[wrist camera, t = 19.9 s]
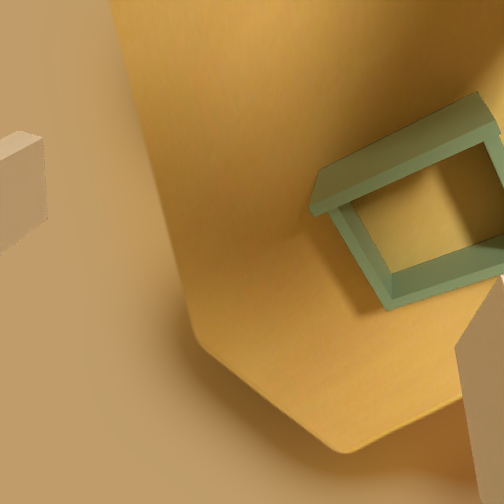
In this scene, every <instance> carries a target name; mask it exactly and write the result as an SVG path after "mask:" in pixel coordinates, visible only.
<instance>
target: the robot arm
mask: <svg viewBox="0 0 504 504" xmlns="http://www.w3.org/2000/svg"><path fill="white" fill-rule="evenodd" d="M44 164H45V163H44V145H43V138H42V137H39V136H36V135H32V134H29V133H25V132H22V131H17V132H14V133H13V134H10V135H8V136H6V137H4V138H2V139H0V256H1V255H2V254H3V253H4V252H6V251H7V250H8V249H10V248H11V247H12V246H13V245H15V244H16V243H17V242H19V240H21V239H22V238H24V237H25V236H26V235H27V234H29V233H30V232H31V231H33V230H34V229H35V228H36V227H37V226H39V225H40V224H41V223H43V222H44V221H45V220H47V219H48V218H47V200H46V181H45V165H44ZM455 353H456V359H457V365H458V371H459V377H460V383H461V389H462V395H463V400H464V407H465V412H466V418H467V424H468V430H469V435H470V442H471V448H472V454H473V459H474V466H475V472H476V477H477V483H478V489H479V495H480V501H481V504H504V275H500V276H499V278H498V279H497V281H496V282H495V284H494V285H493V287H492V289H491V290H490V292H489V293H488V295H487V296H486V298H485V300H484V301H483V303H482V304H481V306H480V307H479V309H478V311H477V312H476V314H475V315H474V317H473V318H472V320H471V322H470V323H469V325H468V326H467V328H466V330H465V331H464V333H463V334H462V336H461V337H460V339H459V341H458V342H457V344H456V345H455Z"/></svg>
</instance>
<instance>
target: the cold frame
mask: <svg viewBox="0 0 504 504" xmlns="http://www.w3.org/2000/svg"><path fill="white" fill-rule="evenodd" d="M499 134H501V132H500V129H499V127H498V125H497V122H496V120H495V118H494V117H493V115H492V114H491V112H490V110H489V109H488V107H487V106H486V104H485V103H484V101H483V100H482V98H481V97H480V95H479V93H478V92H475V93H473V94H471V95H469V96H467V97H465V98H463V99H461V100H459V101H457V102H455V103H453V104H451V105H449V106H447V107H445V108H443V109H441V110H439V111H437V112H435V113H433V114H431V115H429V116H427V117H425V118H423V119H421V120H419V121H417V122H415V123H413V124H411V125H409V126H407V127H405V128H403V129H401V130H399V131H397V132H395V133H393V134H391V135H389V136H387V137H385V138H383V139H381V140H379V141H377V142H375V143H373V144H371V145H369V146H367V147H365V148H363V149H361V150H359V151H357V152H355V153H353V154H351V155H349V156H347V157H345V158H343V159H341V160H339V161H337V162H335V163H333V164H331V165H329V166H327V167H325V168H323V169H321V170H319V173H318V176H317V179H316V182H315V186H314V189H313V192H312V195H311V198H310V202H309V205H308V208H309V210H310V212H311V213H312V215H313V217H314V218H315V217H317V216H319V215H321V214H323V213H326V212H327V213H328V215H329V216H330V218H331V220H332V221H333V223H334V225H335V226H336V228H337V230H338V231H339V233H340V235H341V236H342V238H343V240H344V241H345V243H346V245H347V246H348V248H349V250H350V251H351V253H352V255H353V256H354V258H355V260H356V261H357V263H358V265H359V266H360V268H361V270H362V271H363V273H364V275H365V276H366V278H367V280H368V281H369V283H370V285H371V287H372V288H373V290H374V292H375V293H376V295H377V297H378V298H379V300H380V302H381V303H382V305H383V307H384V308H385V310H386V311H389V310H392V309H395V308H398V307H401V306H405V305H408V304H411V303H414V302H417V301H420V300H423V299H426V298H430V297H433V296H436V295H439V294H442V293H445V292H448V291H451V290H455V289H458V288H461V287H464V286H467V285H470V284H473V283H476V282H480V281H483V280H486V279H489V278H492V277H495V276H498V275H501V274H504V234H503V235H500V236H497V237H494V238H491V239H489V240H486V241H483V242H480V243H477V244H475V245H472V246H469V247H466V248H463V249H461V250H458V251H455V252H452V253H449V254H446V255H444V256H441V257H438V258H435V259H432V260H430V261H427V262H424V263H421V264H418V265H416V266H413V267H410V268H407V269H404V270H402V271H399V272H396V273H393V274H391V272H390V270H389V269H388V267H387V265H386V263H385V262H384V260H383V258H382V256H381V255H380V253H379V251H378V249H377V248H376V246H375V244H374V242H373V241H372V239H371V237H370V235H369V234H368V232H367V230H366V228H365V227H364V225H363V223H362V221H361V220H360V218H359V216H358V214H357V213H356V211H355V209H354V207H353V206H352V204H351V202H350V201H352V200H355V199H357V198H359V197H361V196H363V195H366V194H368V193H370V192H372V191H375V190H377V189H379V188H381V187H383V186H386V185H388V184H390V183H392V182H395V181H397V180H399V179H401V178H403V177H406V176H408V175H410V174H412V173H415V172H417V171H419V170H421V169H423V168H426V167H428V166H430V165H432V164H435V163H437V162H439V161H441V160H443V159H446V158H448V157H450V156H452V155H455V154H457V153H459V152H461V151H463V150H466V149H468V148H470V147H472V146H475V145H477V144H479V143H481V142H483V144H484V146H485V148H486V151H487V153H488V155H489V158H490V160H491V162H492V164H493V167H494V169H495V171H496V174H497V176H498V178H499V181H500V183H501V185H502V188H503V190H504V147H503V144H502V142H501V139H500V137H499Z"/></svg>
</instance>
